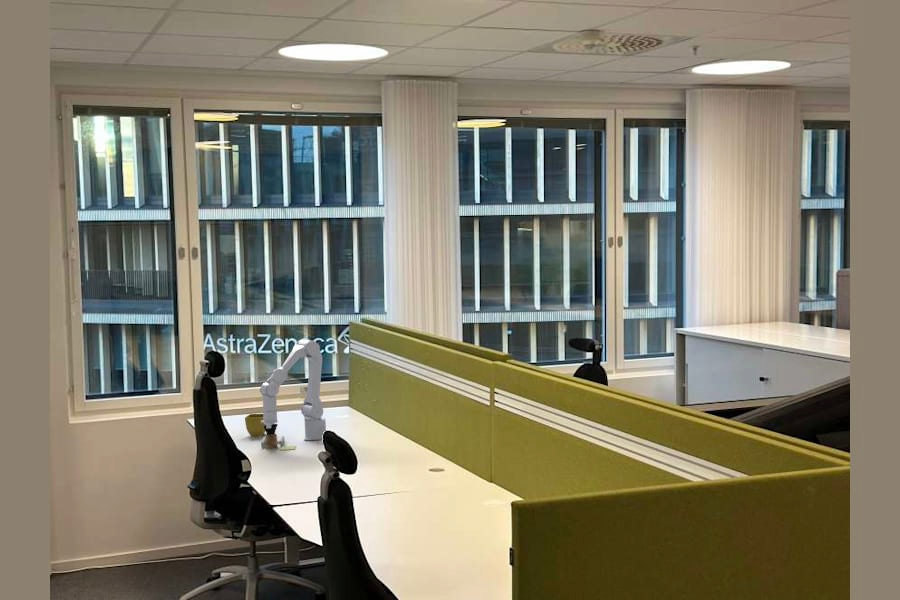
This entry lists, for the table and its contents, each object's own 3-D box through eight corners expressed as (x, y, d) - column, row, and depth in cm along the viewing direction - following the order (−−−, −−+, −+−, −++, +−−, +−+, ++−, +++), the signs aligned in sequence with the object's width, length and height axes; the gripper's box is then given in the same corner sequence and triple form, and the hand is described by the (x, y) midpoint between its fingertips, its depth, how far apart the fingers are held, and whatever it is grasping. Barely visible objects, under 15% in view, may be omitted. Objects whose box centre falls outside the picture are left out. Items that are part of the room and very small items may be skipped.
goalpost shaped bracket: (284, 441, 405) (284, 436, 405) (282, 446, 395) (282, 441, 395) (263, 442, 404) (263, 437, 404) (261, 448, 394) (261, 442, 394)
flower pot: (269, 432, 424) (268, 413, 424) (264, 437, 416) (263, 417, 415) (251, 432, 425) (250, 413, 424) (245, 437, 417) (244, 417, 416)
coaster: (295, 446, 395) (295, 445, 395) (294, 449, 389) (294, 448, 389) (281, 447, 394) (281, 446, 394) (280, 450, 388) (280, 449, 388)
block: (276, 444, 397) (276, 433, 395) (277, 448, 393) (277, 438, 391) (265, 444, 396) (265, 434, 394) (266, 449, 392) (266, 439, 390)
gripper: (262, 407, 402) (263, 438, 403) (258, 413, 388) (259, 445, 389) (278, 406, 403) (279, 437, 404) (275, 413, 388) (276, 445, 389)
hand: (271, 441), depth 396 cm, fingers closed, pressing on block
